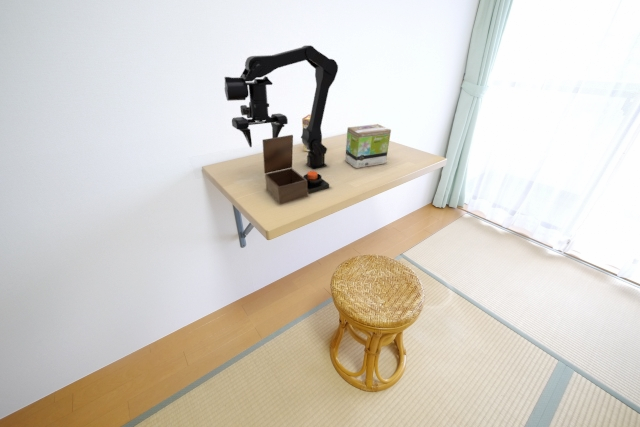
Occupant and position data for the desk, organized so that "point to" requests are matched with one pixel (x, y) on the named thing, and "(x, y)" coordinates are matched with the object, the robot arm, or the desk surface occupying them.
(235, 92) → the robot arm
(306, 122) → the candy box
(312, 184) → the control block
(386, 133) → the tea box
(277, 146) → the wooden box lid
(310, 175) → the button
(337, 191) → the desk surface
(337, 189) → the desk surface
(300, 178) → the open wooden box
